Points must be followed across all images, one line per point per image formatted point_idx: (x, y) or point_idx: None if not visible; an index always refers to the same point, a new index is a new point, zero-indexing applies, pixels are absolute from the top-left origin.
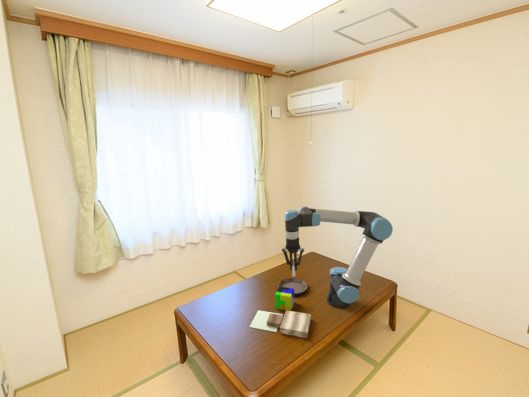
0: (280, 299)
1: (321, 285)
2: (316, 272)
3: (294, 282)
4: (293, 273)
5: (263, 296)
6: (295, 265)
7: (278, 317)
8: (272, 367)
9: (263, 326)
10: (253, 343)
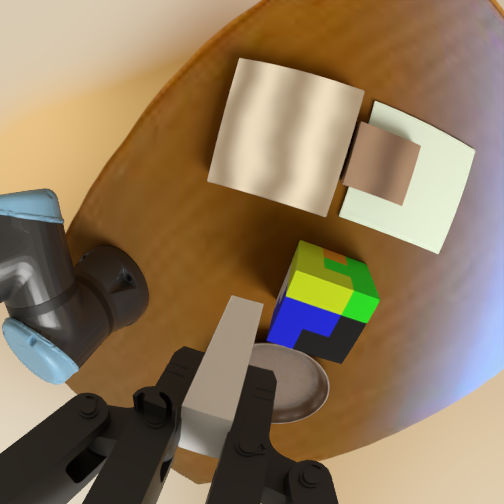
0: (349, 278)
1: None
2: None
3: None
4: (240, 324)
5: (397, 343)
6: (152, 409)
7: (367, 170)
8: None
9: (427, 141)
10: (452, 61)
